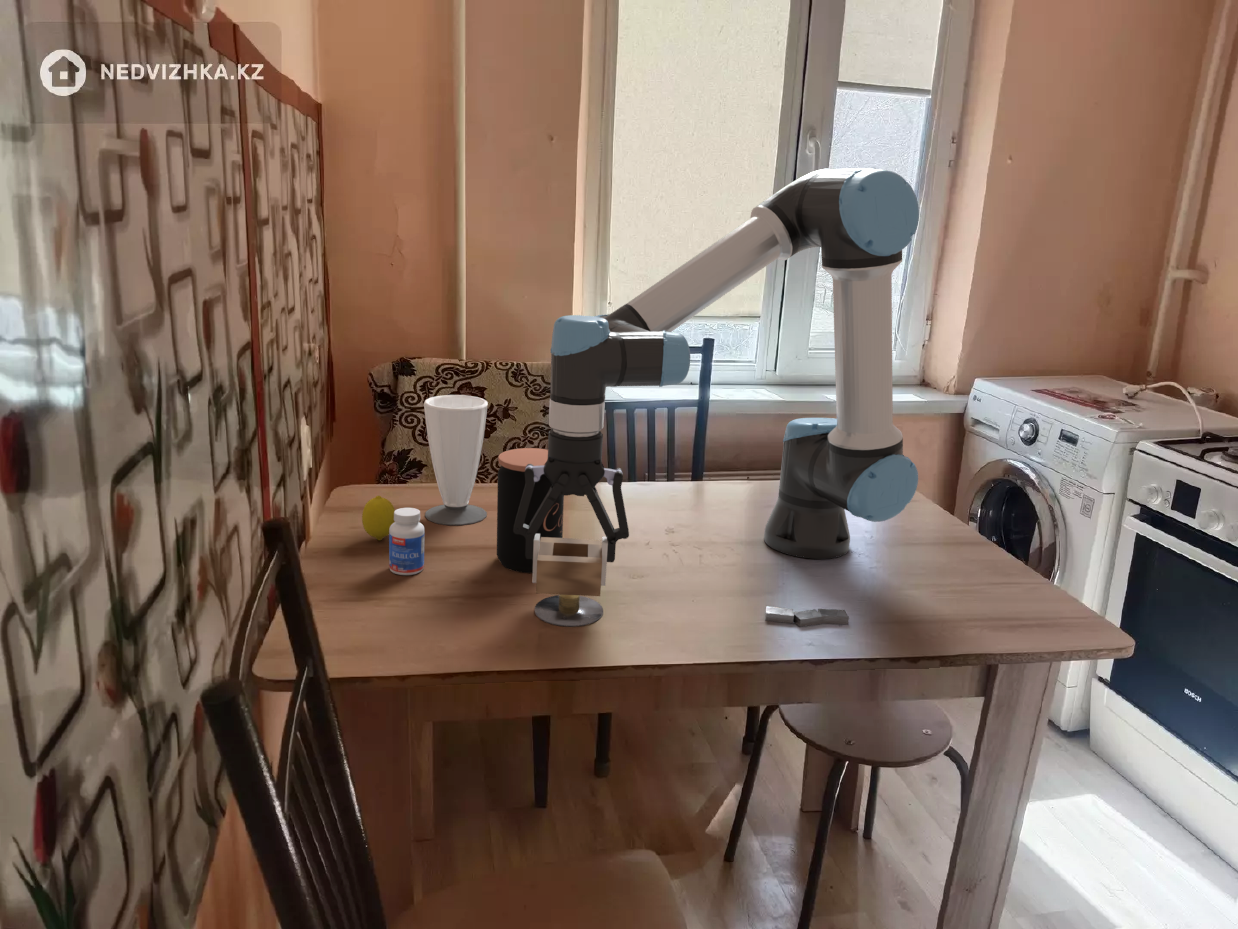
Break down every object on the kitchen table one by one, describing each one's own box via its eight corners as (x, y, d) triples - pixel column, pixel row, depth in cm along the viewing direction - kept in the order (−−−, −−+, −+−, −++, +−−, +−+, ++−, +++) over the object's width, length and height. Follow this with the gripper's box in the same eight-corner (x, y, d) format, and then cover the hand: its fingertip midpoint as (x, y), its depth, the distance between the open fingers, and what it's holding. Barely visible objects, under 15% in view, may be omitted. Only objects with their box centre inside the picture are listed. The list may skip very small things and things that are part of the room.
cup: (481, 503, 177) (482, 394, 171) (492, 523, 167) (493, 408, 161) (421, 506, 174) (419, 395, 167) (428, 527, 163) (427, 409, 157)
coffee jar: (551, 578, 145) (555, 469, 140) (487, 569, 147) (488, 462, 142) (568, 554, 155) (572, 451, 150) (508, 546, 157) (510, 445, 152)
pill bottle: (387, 576, 142) (386, 517, 139) (390, 563, 147) (389, 505, 145) (423, 576, 143) (423, 517, 140) (425, 562, 148) (425, 505, 145)
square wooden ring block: (599, 571, 137) (601, 539, 135) (600, 596, 128) (602, 563, 127) (539, 568, 136) (540, 537, 135) (535, 593, 128) (537, 560, 126)
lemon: (356, 542, 155) (354, 497, 153) (376, 532, 160) (375, 488, 158) (383, 548, 153) (382, 503, 151) (402, 537, 158) (402, 494, 156)
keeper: (602, 597, 139) (604, 564, 137) (603, 627, 129) (605, 592, 128) (536, 595, 138) (537, 561, 137) (532, 625, 129) (533, 589, 127)
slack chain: (843, 616, 137) (844, 608, 137) (850, 628, 133) (851, 621, 133) (762, 613, 136) (763, 605, 136) (767, 625, 132) (768, 618, 132)
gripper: (652, 426, 130) (642, 573, 136) (499, 419, 129) (496, 567, 135) (656, 440, 123) (645, 594, 129) (493, 432, 122) (491, 588, 128)
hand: (569, 580), depth 132 cm, fingers closed on square wooden ring block, 9 cm apart
